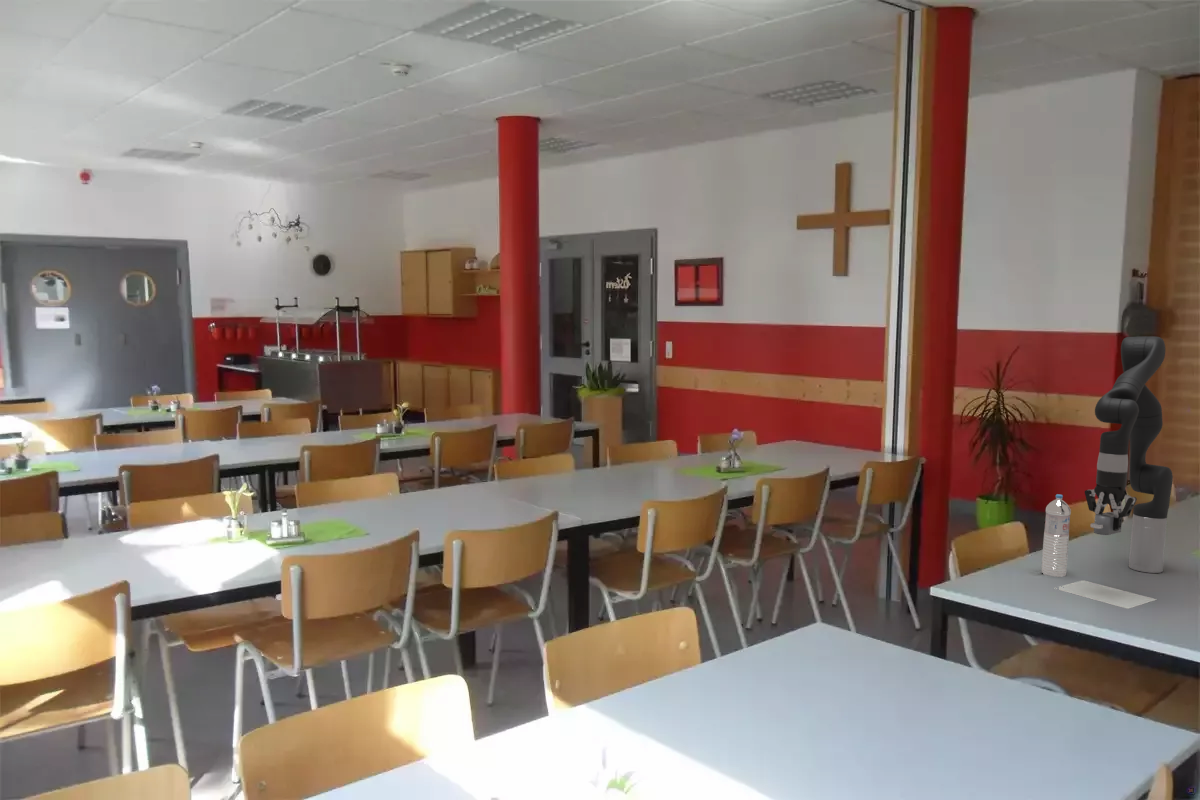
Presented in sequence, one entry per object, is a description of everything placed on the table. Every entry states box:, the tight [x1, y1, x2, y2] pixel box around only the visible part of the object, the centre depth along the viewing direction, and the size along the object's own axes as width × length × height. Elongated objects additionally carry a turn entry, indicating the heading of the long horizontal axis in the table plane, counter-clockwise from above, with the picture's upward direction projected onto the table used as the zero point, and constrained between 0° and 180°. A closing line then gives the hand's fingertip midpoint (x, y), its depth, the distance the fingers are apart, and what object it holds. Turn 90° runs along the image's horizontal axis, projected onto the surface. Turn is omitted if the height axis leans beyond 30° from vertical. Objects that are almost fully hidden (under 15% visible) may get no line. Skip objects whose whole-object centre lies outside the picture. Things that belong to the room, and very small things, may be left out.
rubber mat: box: [1053, 579, 1157, 610], centre depth 261 cm, size 16×21×1 cm
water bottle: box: [1041, 493, 1072, 578], centre depth 279 cm, size 7×7×25 cm
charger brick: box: [1090, 511, 1122, 536], centre depth 260 cm, size 12×4×5 cm, turn 124°
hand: (1107, 528), depth 261 cm, fingers closed on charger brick, 4 cm apart
